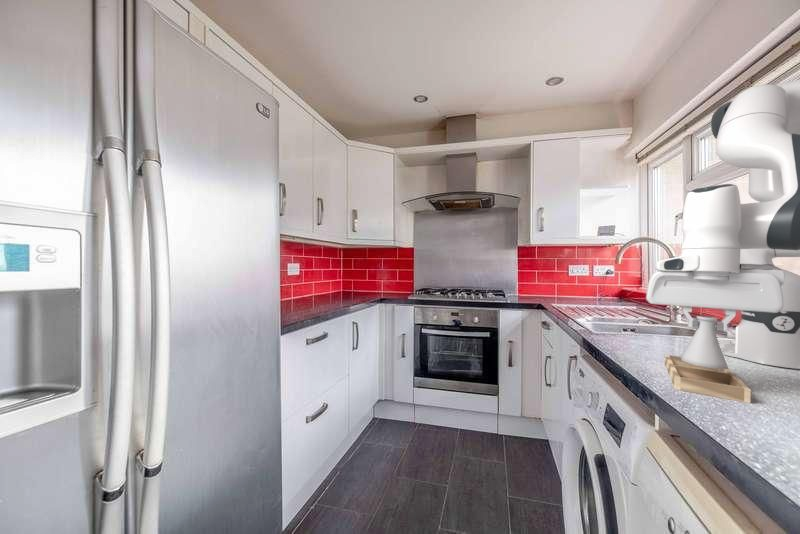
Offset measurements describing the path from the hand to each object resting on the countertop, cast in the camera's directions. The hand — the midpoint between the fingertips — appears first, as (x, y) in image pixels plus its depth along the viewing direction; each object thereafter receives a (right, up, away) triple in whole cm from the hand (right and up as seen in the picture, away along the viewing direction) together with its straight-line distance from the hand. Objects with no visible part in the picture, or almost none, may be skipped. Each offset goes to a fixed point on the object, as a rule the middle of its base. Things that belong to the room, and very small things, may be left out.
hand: (706, 329), depth 66 cm
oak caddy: (+3, -12, +4) cm, 13 cm away
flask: (-1, -8, 0) cm, 8 cm away
